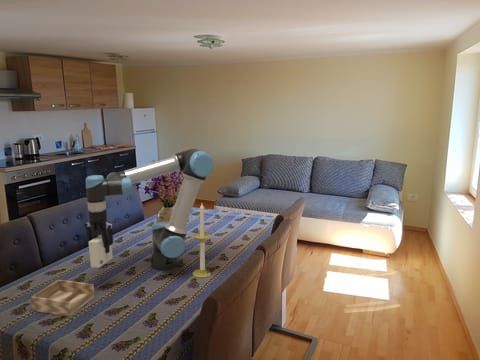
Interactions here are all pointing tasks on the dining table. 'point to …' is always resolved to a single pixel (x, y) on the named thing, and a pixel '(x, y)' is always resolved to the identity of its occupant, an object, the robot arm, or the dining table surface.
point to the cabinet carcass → (62, 297)
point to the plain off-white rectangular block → (98, 252)
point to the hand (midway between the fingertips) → (101, 258)
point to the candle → (201, 246)
